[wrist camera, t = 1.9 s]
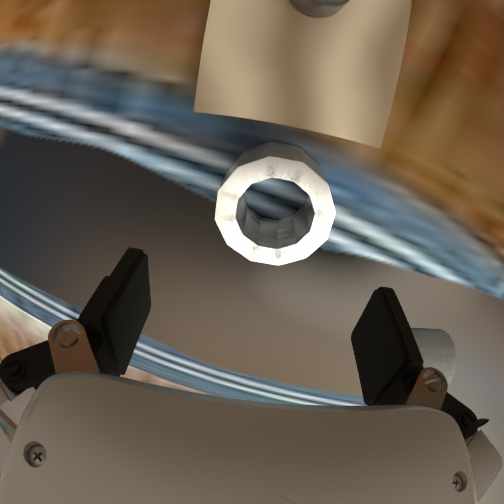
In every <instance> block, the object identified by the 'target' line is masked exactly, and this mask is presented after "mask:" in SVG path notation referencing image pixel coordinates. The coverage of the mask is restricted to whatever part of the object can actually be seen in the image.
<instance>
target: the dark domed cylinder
mask: <svg viewBox="0 0 504 504" xmlns="http://www.w3.org/2000/svg"><path fill="white" fill-rule="evenodd" d="M349 1H350V0H289V2H290V3H291V5H292V6H293V7H294V8H295V9H296V10H297V11H299V12H300V13H302V14H304V15H306V16H309V17H314V18H325V17H330V16H332V15H334V14H336V13H337V12H338V11H339V10H340V9H341V8H342V7H343V6H344V5H345V4H347V3H348V2H349Z"/></svg>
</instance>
